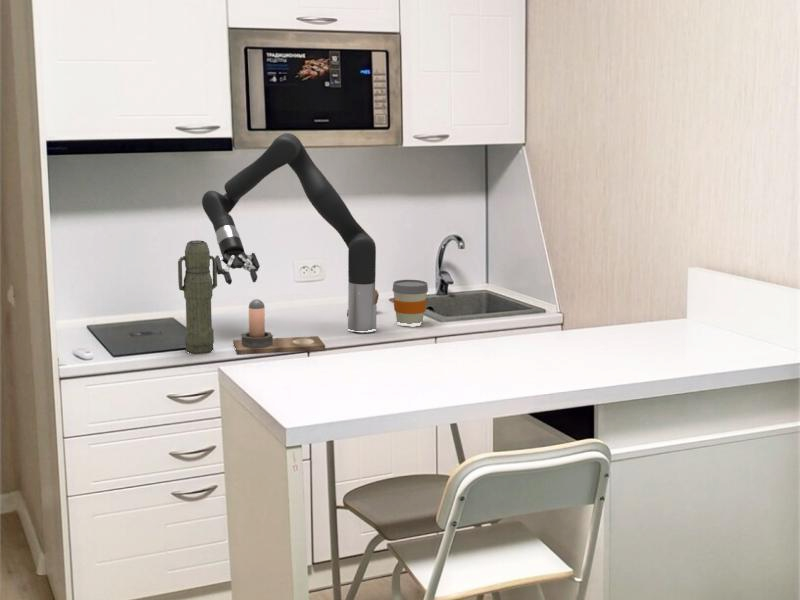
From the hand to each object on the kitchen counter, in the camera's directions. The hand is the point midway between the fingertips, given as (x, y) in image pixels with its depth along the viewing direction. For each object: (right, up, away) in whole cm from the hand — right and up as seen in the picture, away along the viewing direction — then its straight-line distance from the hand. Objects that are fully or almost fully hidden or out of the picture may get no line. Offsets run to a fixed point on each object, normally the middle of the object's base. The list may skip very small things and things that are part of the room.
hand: (242, 282), depth 327 cm
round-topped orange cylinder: (+5, -20, -6) cm, 21 cm away
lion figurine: (+38, -11, +43) cm, 58 cm away
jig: (+12, -21, -4) cm, 25 cm away
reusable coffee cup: (+55, -15, +30) cm, 64 cm away
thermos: (-12, -22, -9) cm, 27 cm away
